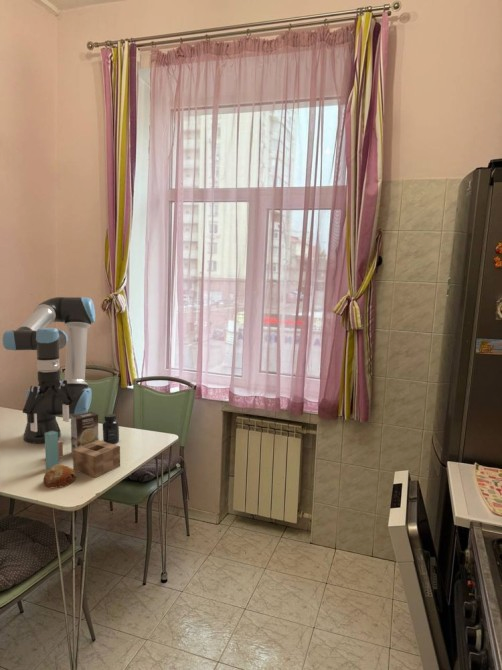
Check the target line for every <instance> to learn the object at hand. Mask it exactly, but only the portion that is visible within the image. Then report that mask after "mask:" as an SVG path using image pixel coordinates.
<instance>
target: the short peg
mask: <svg viewBox="0 0 502 670" xmlns="http://www.w3.org/2000/svg"><path fill="white" fill-rule="evenodd" d="M63 445H64V444H63V441H62V440H58V455H59V458H62V457H63V456H64V447H63Z"/></svg>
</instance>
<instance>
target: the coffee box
mask: <svg viewBox="0 0 502 670" xmlns="http://www.w3.org/2000/svg"><path fill="white" fill-rule="evenodd" d="M70 432H71V433H70V443H71V444H70V446H71V450H70V451H71V453H72V454H73V449H76V448H78V447H81V446H84V445H86V444H89V443H91V442H94V441H97V440H99V414H98V413H96V412H93V411H92V410H91V411H87V412H85V413H80V414H74V415H70Z"/></svg>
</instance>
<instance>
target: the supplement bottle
mask: <svg viewBox="0 0 502 670" xmlns="http://www.w3.org/2000/svg"><path fill="white" fill-rule="evenodd" d="M102 441H104V442H107V443H111V444H114V445H116V444H117V443H118V442H120V424H119V421H118V420H117V414H114V413H107V414H105V415H104V421H103V423H102Z"/></svg>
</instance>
